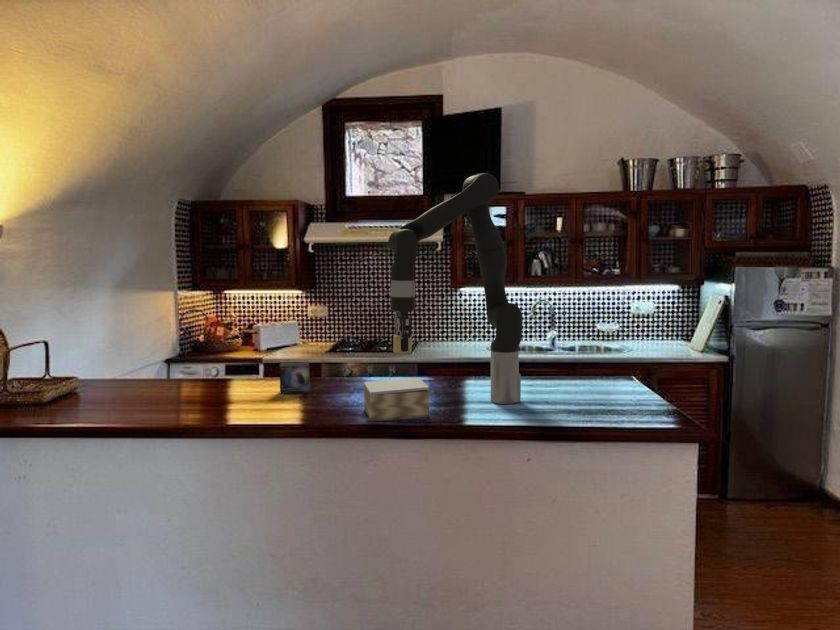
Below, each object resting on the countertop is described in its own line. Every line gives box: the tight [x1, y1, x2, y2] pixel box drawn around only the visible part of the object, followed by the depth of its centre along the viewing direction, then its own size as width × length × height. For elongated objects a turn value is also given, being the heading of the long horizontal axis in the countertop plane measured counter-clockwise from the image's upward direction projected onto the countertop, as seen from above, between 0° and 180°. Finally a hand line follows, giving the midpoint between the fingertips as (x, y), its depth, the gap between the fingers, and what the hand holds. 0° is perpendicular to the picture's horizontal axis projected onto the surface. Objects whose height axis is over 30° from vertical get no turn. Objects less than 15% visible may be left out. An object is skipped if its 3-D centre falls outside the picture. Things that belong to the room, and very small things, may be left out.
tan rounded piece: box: [392, 334, 413, 354], centre depth 183 cm, size 6×6×5 cm
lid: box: [363, 376, 430, 395], centre depth 185 cm, size 18×14×1 cm
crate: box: [363, 385, 430, 422], centre depth 185 cm, size 18×14×8 cm
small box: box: [279, 361, 311, 395], centre depth 214 cm, size 11×6×10 cm, turn 101°
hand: (402, 349), depth 183 cm, fingers closed on tan rounded piece, 5 cm apart
